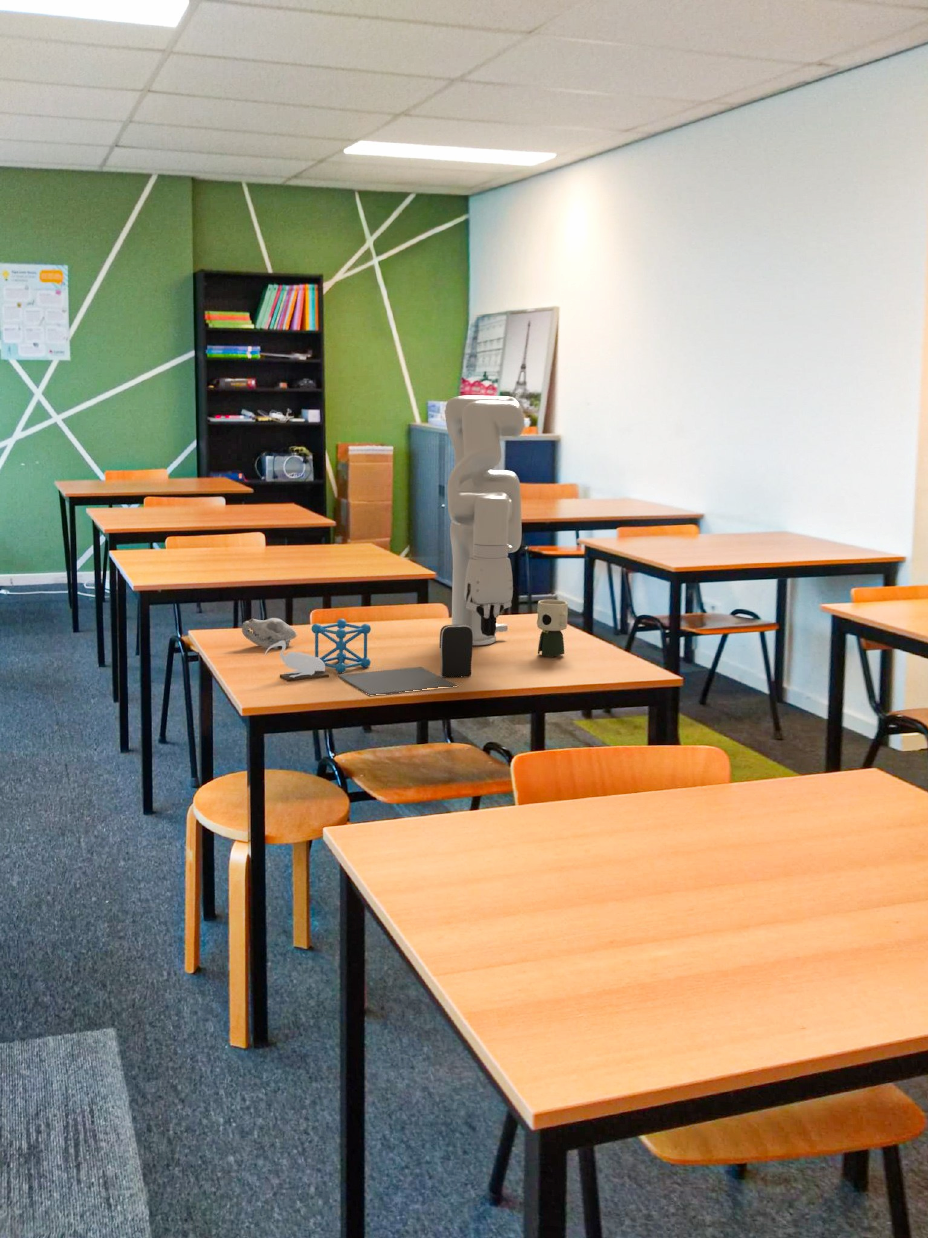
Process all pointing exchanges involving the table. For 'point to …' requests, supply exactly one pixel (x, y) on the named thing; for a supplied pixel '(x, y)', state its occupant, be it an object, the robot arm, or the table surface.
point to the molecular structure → (342, 644)
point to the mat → (395, 680)
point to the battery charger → (456, 650)
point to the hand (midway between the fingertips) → (488, 634)
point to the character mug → (552, 626)
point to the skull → (268, 632)
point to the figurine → (301, 665)
